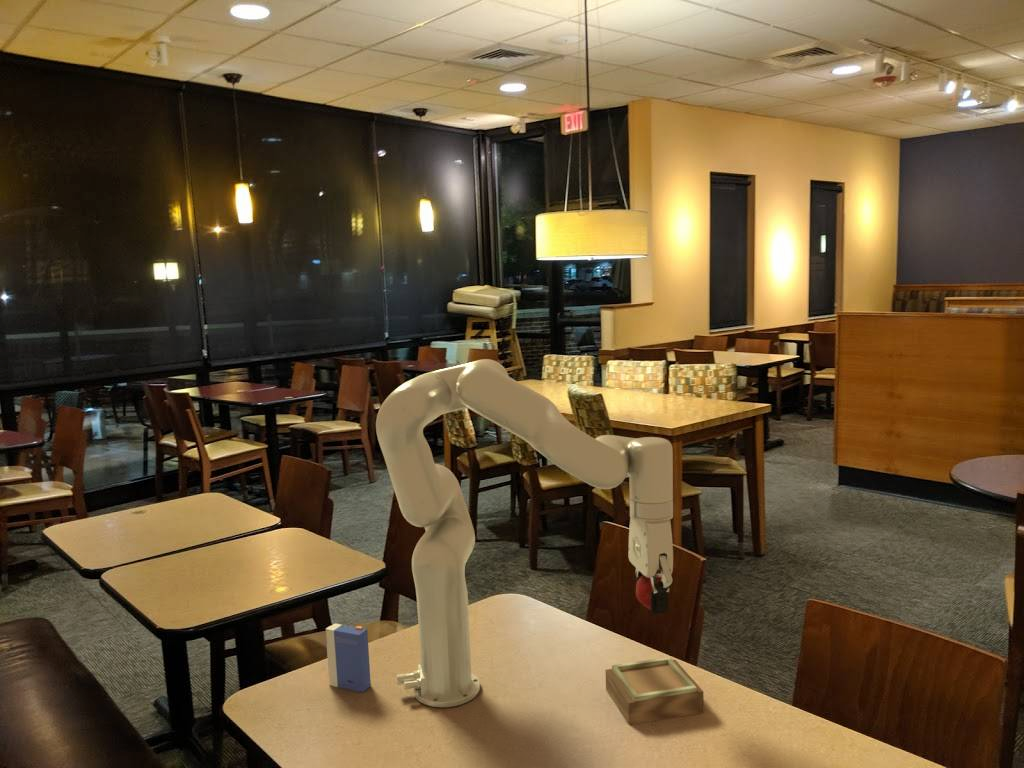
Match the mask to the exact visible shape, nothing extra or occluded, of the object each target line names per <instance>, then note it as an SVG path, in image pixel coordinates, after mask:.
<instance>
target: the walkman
mask: <svg viewBox="0 0 1024 768" xmlns="http://www.w3.org/2000/svg"><path fill="white" fill-rule="evenodd" d="M368 634H369V633H368V628H364V627H363V626H359V625H357V626H352V625H348V624H347V625H346V624H340V623H333V624H332V625H329V626H328V627H326V628H325V636H326V639H325V640H326V654H327V655H326V656H327V657H326V658H327V669H328V683H329V686H330V685H331V686H330V687H335V688H340V689H345V690H350V691H355V692H359V693H364V692H366V690H368V688H370V687H371V686H372V683H371V669H370V666H371V665H370V652H369V635H368Z"/></svg>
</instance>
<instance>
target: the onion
mask: <svg viewBox="0 0 1024 768" xmlns="http://www.w3.org/2000/svg"><path fill="white" fill-rule="evenodd" d="M656 574H659V573H658V572H656ZM661 579H662V577H660V578H656V583H657V584H658V582H659V581H661ZM651 591H652V585H651V578H647V577H645V576H644V575H642V576H641V577H640V578H639V580H638V581H637V584H636V583H635V597H636V598H637V601H638V602H639V603H640V604H641V605H642V606H643V607H645V608H647V610H650V592H651ZM669 594H670V591H669V592H668V597H669Z"/></svg>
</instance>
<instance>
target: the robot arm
mask: <svg viewBox="0 0 1024 768" xmlns="http://www.w3.org/2000/svg"><path fill="white" fill-rule="evenodd" d="M508 373H509V372H508V371H507V369H506V368H505V367H504V366H503V365H502V364H501V363H499V362H498V361H496V360H493V359H489V358H485V359H484V358H483V359H478V360H474V361H471V362H468V363H467V362H466V363H463V364H459V365H456V366H452V367H451V366H450V367H446V368H442V369H438V370H434V371H430V372H426V373H423V374H420V375H418V376H416V377H414V378H412V379H409V380H407V381H405V382H404V383H402V384H401V385H399V386H398V387H397V388H395V389H394V390H393V391H392V392H391V393H390V394H389V395H387V397H386V398H385V400H384V401H383V402H382V404H381V406H380V407H379V409H378V413H377V415H376V420H375V430H376V431H375V432H376V436H377V441H378V444H379V447H380V450H381V453H382V456H383V458H384V462H385V464H386V468H387V472H388V474H389V477H390V482H391V484H392V488H393V490H394V494H395V497H396V500H397V503H398V507H399V509H400V512H401V514H402V516H403V518H404V519H405V520H406V522H408V523H409V524H410V525H412V526H415V527H418V528H424V529H425V532H424V533H423V535H422V536H421V537H420V538H419V540H418V541H417V543H416V545H415V548H414V550H413V553H412V557H411V571H412V577H413V582H414V587H415V595H416V608H417V609H416V611H417V618H418V619H417V620H418V623H417V624H418V639H419V641H418V642H419V657H420V661H419V662H420V663H418V664H417V669H416V670H415V669H414V670H413V671H412V672H408V673H397V674H396V685H397V686H402V685H403V686H404V687H403V688H404V690H411V689H413V695H414V697H415V698H416V700H417V701H418V702H420V703H422V704H423V705H425V706H429V707H434V708H451V707H456V706H461V705H464V704H466V703H468V702H470V701H471V700H473V699H475V698H476V697H477V695H478V694H479V693H480V690H481V681H480V678H479V677H478V676H477V675H476V674H475V673H473V672H472V658H471V657H472V656H471V655H472V654H471V637H470V631H471V630H470V615H469V613H470V612H469V598H468V597H469V596H468V588H467V582H466V575H465V573H466V571H465V569H466V568H465V567H466V563H467V561H468V560H469V558H470V556H471V554H472V552H473V551H474V550H473V549H474V547H475V543H476V535H475V529H474V526H473V523H472V519H471V517H470V513H469V510H468V507H467V504H466V500H465V497H464V495H463V491H462V488H461V486H460V483H459V480H458V479H457V477H456V476H455V474H454V473H453V472H452V471H451V470H450V469H449V468H448V467H446V466H444V465H442V464H439V463H435V461H434V457H433V453H432V450H431V448H430V445H429V443H428V441H427V439H426V437H425V435H424V429H425V427H426V426H427V425H428V424H430V423H432V422H434V420H436V419H437V418H439V417H440V416H441V415H444V414H448V413H449V414H450V413H453V412H457V411H462V410H466V409H469V410H471V411H472V412H474V413H476V414H477V415H480V416H481V417H482V418H484V419H487V420H489V421H491V422H492V423H494V424H495V425H497V426H499V427H501V429H504V430H506V431H507V432H509V433H510V434H513V435H515V436H516V437H518V438H520V439H521V440H523V441H524V442H526V443H528V445H530V446H531V448H533V449H534V451H536V452H538V453H539V454H541V455H542V456H543V457H544V458H546V459H547V461H550V462H551V463H552V464H554V466H557V467H558V468H560V470H562V471H564V472H566V473H567V474H569V475H571V476H573V477H575V478H576V479H578V480H581V482H583V483H586V484H588V485H589V486H591V487H594V488H596V489H600V490H611V489H613V488H614V489H615V488H617V487H618V486H619V485H621V484H622V483H623V482H624V480H625V479H626V477H627V476H628V480H629V483H628V484H629V489H628V490H629V518H630V519H629V527H628V528H629V529H628V556H627V557H628V560H629V562H630V563H631V565H632V566H634V567H635V576H636V577H635V585H636V584H637V581H638V580H639V578H640V577H641V576H642V575H644V576H645V577H647V578H651V585H652V591H651V592H650V609H649V610H650V611H649V612H650V613H651V614H652V615H659V614H665V613H668V612H669V610H670V609H669V605H670V603H669V596H668V592H669V593H670V587H671V584H672V583H673V577H672V574H673V569H674V548H673V547H674V546H673V533H672V524H671V520H672V519H673V518H674V488H673V487H674V485H673V484H674V483H673V481H674V476H673V473H674V472H673V471H674V469H673V468H674V467H673V463H674V460H673V459H674V457H673V456H674V455H673V454H674V453H673V450H674V449H673V445H672V443H671V441H670V440H668V439H666V438H663V437H659V436H658V437H657V436H656V437H655V436H646V437H645V436H644V437H638V438H635V437H627V436H621V435H614V434H603V435H598V437H597V436H596V437H593V436H591V435H589V434H587V433H585V431H583V430H581V429H579V428H578V427H577V426H575V425H574V424H573V423H571V422H570V421H569V420H568V419H567V418H566V417H565V416H564V415H563V414H562V413H561V411H560V410H559V409H558V407H557V406H556V405H555V403H554V402H552V401H551V400H550V399H549V398H548V397H546V396H545V395H542V394H541V393H539V392H537V391H535V390H534V389H532V388H530V387H528V386H527V385H524V384H522V383H521V382H519V381H517V380H516V379H513V378H512V377H510V375H509V374H508ZM657 571H658V572H659V571H660V573H658V574H656V573H657ZM660 577H662V579H661V581H659V582H658V584H657V583H656V578H660Z"/></svg>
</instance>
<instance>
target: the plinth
mask: <svg viewBox="0 0 1024 768" xmlns="http://www.w3.org/2000/svg"><path fill="white" fill-rule="evenodd" d="M605 690H606V692H607V694H608V695H609V697H610V698H611V700H612V701H613V703H614V704H615V706H616V707H617V709H618V710H619V712H620V713H621V715H622V716H623V718H624V720H625V721H626V722H627V724H628V725H629V726H630V725H636V724H641V723H648V722H653V721H654V722H655V721H659V720H666V719H672V718H678V717H683V716H689V715H696V714H697V715H698V714H702V713H703V714H704V690H703V689H702V688H701V687H700V685H698V684H697V683H696V681H695V680H694V679H693V678H692V677H691V676H690V674H689V672H687V671H686V669H684V667H683V666H682V665H681V664H680V663H679V662H678V661H677V660H676V659H672V657H670V656H667V657H660V658H659V657H658V658H652V659H646V660H640V661H639V660H638V661H634V662H633V661H632V662H626V663H625V662H624V663H618V664H612V665H611V668H609V669H605Z"/></svg>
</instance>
